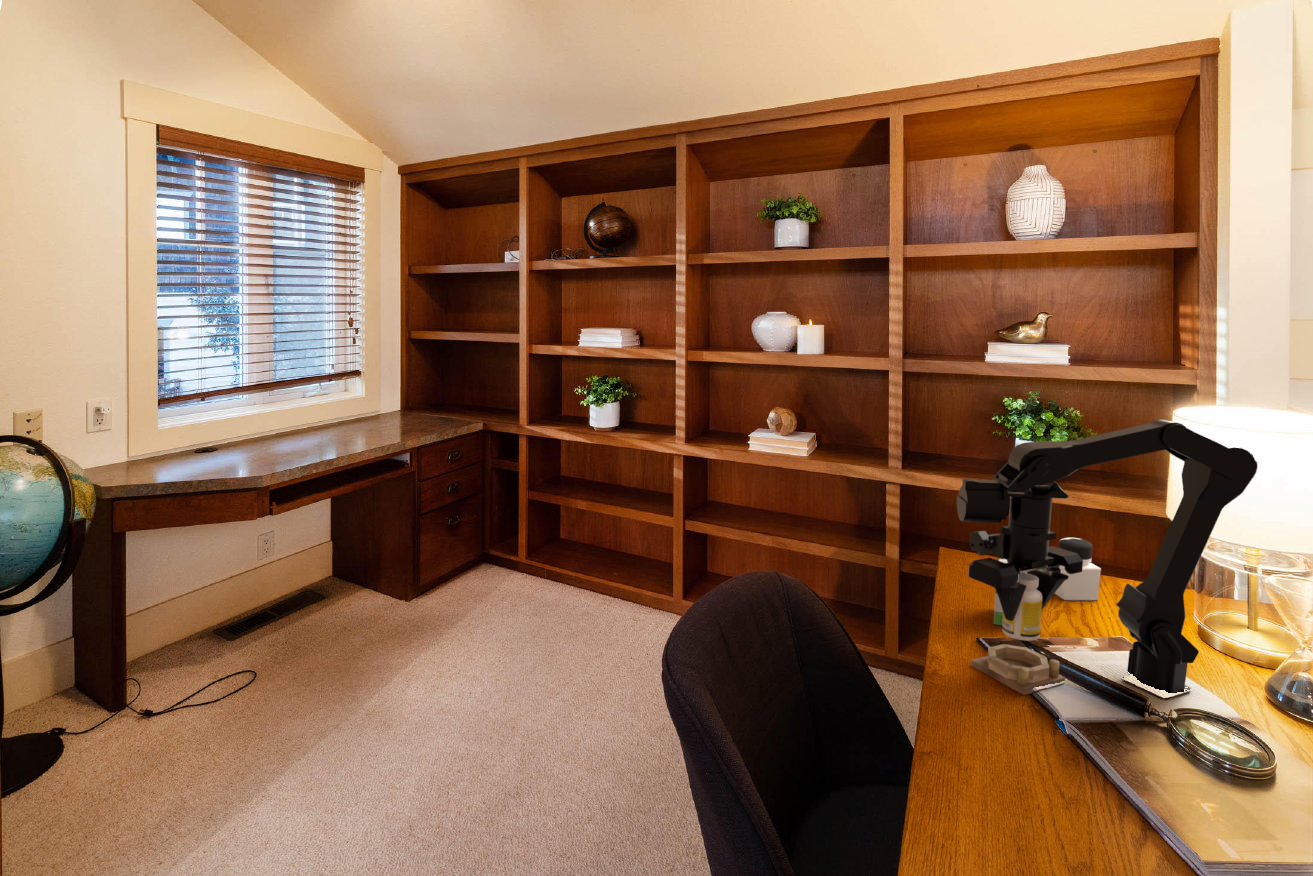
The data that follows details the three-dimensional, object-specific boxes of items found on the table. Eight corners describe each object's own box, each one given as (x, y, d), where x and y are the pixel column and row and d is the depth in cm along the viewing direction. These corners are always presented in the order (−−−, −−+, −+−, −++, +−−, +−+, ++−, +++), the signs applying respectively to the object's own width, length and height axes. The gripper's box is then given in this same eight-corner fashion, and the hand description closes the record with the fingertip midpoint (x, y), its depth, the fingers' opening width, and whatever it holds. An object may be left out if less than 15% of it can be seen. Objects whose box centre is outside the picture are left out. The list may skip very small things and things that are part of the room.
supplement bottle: (1043, 633, 106) (1048, 575, 105) (1034, 645, 103) (1039, 585, 101) (1007, 624, 110) (1011, 568, 109) (997, 635, 106) (1001, 577, 105)
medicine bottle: (1098, 600, 137) (1104, 545, 135) (1064, 600, 137) (1069, 545, 135) (1077, 587, 144) (1082, 535, 142) (1044, 588, 144) (1049, 535, 142)
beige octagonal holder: (1064, 683, 104) (1066, 663, 104) (1023, 695, 101) (1025, 674, 101) (1010, 655, 114) (1011, 637, 113) (971, 665, 110) (972, 646, 110)
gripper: (1026, 505, 114) (1020, 590, 117) (944, 517, 107) (939, 607, 110) (1088, 521, 104) (1080, 614, 106) (1002, 536, 97) (995, 635, 100)
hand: (1022, 617), depth 106 cm, fingers closed on supplement bottle, 5 cm apart
